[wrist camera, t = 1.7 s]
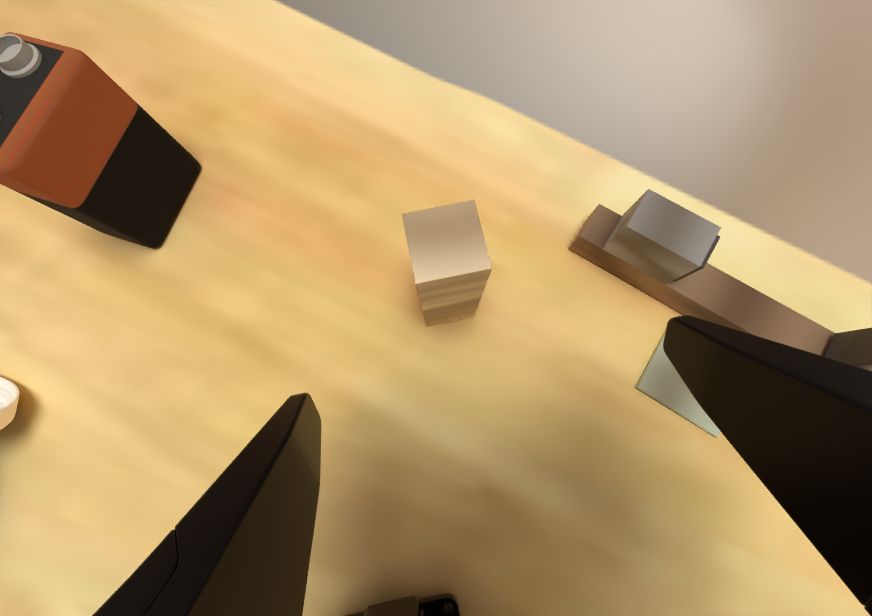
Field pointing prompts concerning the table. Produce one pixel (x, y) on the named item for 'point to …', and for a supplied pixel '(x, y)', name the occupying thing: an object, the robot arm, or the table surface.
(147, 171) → the battery
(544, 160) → the table surface
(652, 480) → the table surface
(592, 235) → the rail
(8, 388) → the spread jar
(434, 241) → the tan wooden block
